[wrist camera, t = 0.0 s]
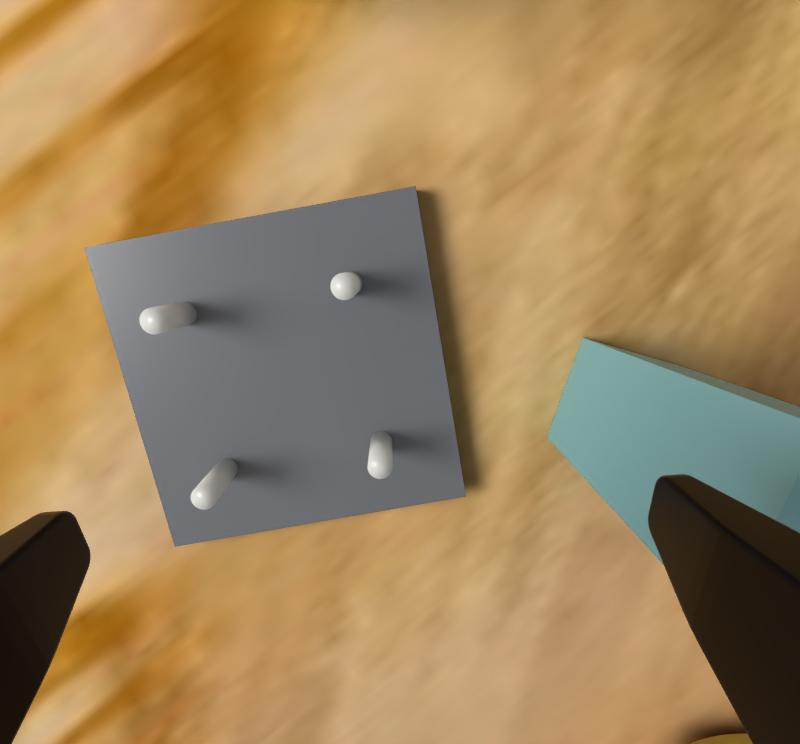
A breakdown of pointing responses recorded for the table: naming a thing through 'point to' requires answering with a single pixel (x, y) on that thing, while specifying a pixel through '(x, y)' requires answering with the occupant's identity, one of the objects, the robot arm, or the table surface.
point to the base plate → (284, 365)
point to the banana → (726, 739)
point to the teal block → (674, 435)
